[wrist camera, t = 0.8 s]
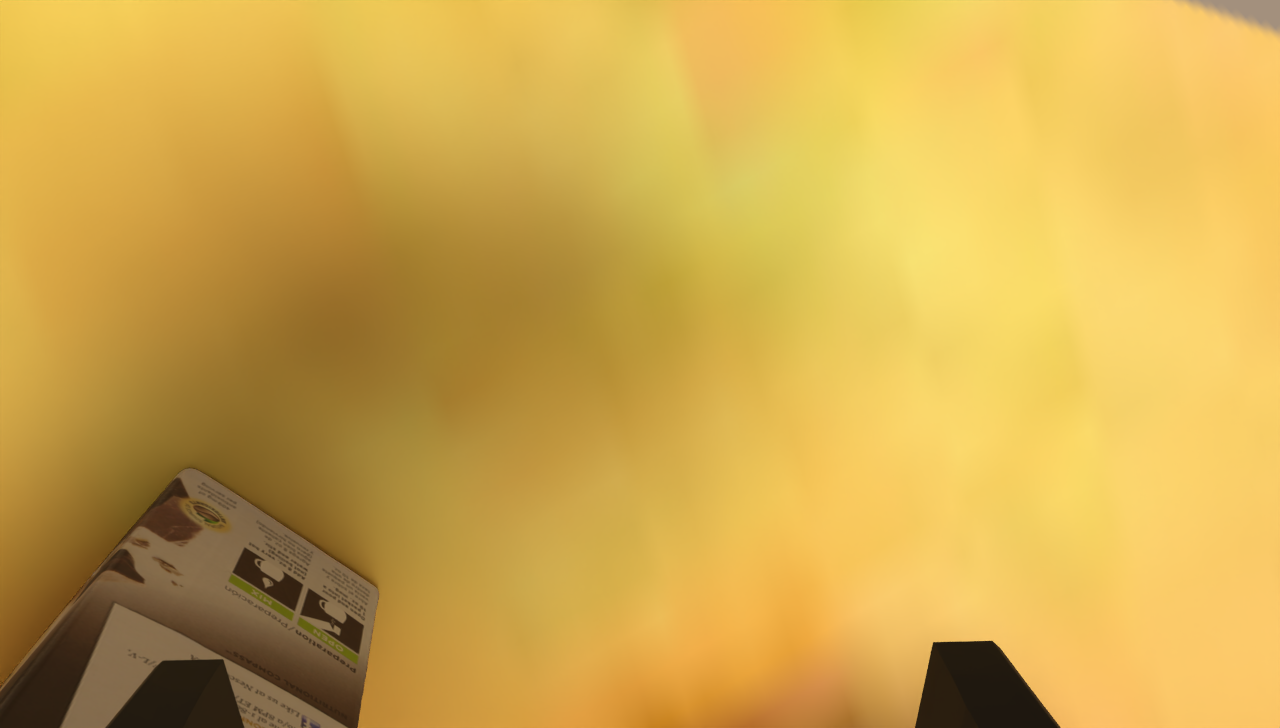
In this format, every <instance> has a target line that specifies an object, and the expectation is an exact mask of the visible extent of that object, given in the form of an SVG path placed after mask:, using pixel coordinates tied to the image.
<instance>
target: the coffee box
mask: <svg viewBox="0 0 1280 728" xmlns="http://www.w3.org/2000/svg"><path fill="white" fill-rule="evenodd" d="M378 599H379V591H378V589H377V588H376V587H375V586H373V585H372V584H370V583H369V582H368V581H366V580H365V579H363V578H362V577H360V576H359V575H357V574H356V573H354V572H353V571H351V570H350V569H348V568H347V567H345V566H344V565H342V564H341V563H339V562H338V561H336V560H335V559H333V558H331V557H330V556H328V555H327V554H325V553H324V552H323V551H321V550H320V549H318V548H317V547H315V546H314V545H313V544H311V543H309V542H308V541H306V540H305V539H303V538H302V537H300V536H299V535H297V534H296V533H294V532H293V531H291V530H290V529H288V528H286V527H285V526H283V525H282V524H280V523H279V522H277V521H276V520H274V519H273V518H271V517H270V516H268V515H267V514H265V513H264V512H262V511H261V510H259V509H258V508H256V507H255V506H253V505H252V504H250V503H249V502H247V501H246V500H244V499H243V498H241V497H240V496H238V495H237V494H235V493H234V492H232V491H231V490H229V489H227V488H226V487H224V486H223V485H221V484H220V483H218V482H217V481H215V480H213V479H212V478H210V477H209V476H207V475H205V474H204V473H202V472H200V471H198V470H197V469H192V468H188V469H184V470H182V471H181V472H180V473H178V474H177V475H176V477H175V478H174V479H173V480H172V481H171V483H170V484H169V485H168V486H167V487H166V489H165V490H164V491H163V492H162V493H161V494H160V496H159V497H158V498H157V499H156V500H155V502H154V503H153V504H152V505H151V506H150V507H149V508H148V510H147V511H146V512H145V513H144V514H143V515H142V517H141V518H140V519H139V520H138V521H137V522H136V523H135V525H134V526H133V527H132V528H131V529H130V530H129V531H128V533H127V534H126V535H125V536H124V537H123V539H122V540H121V541H120V542H119V543H118V545H117V546H116V547H115V548H114V549H113V551H112V552H111V553H110V554H109V555H108V557H107V558H106V559H105V560H104V561H103V563H102V564H101V565H100V566H99V567H98V569H97V570H96V571H95V572H94V573H93V575H92V576H91V577H90V578H89V579H88V581H87V582H86V583H85V584H84V585H83V587H82V588H81V589H80V590H79V591H78V593H77V594H76V595H75V596H74V597H73V599H72V600H71V601H70V602H69V603H68V605H67V606H66V607H65V608H64V609H63V611H62V612H61V613H60V614H59V615H58V617H57V618H56V619H55V620H54V621H53V623H52V624H51V625H50V626H49V627H48V629H47V630H46V631H45V632H44V633H43V635H42V636H41V637H40V638H39V639H38V641H37V642H36V643H35V644H34V645H33V647H32V648H31V649H30V650H29V652H28V653H27V654H26V656H25V657H24V658H23V659H22V661H21V662H20V663H19V664H18V666H17V667H16V668H15V669H14V670H13V672H12V673H11V674H10V675H9V677H8V678H7V679H6V680H5V682H4V683H3V684H2V685H1V687H0V728H105V727H106V726H107V725H108V724H109V723H110V721H111V720H112V719H113V718H114V717H115V715H116V714H117V713H118V712H119V710H120V709H121V708H122V707H123V706H124V704H125V703H126V702H127V701H128V699H129V698H130V697H131V696H132V695H133V693H134V692H135V691H136V690H137V688H138V687H139V686H140V685H141V684H142V682H143V681H144V680H145V679H146V678H147V676H148V675H149V674H150V673H151V672H152V670H153V669H154V668H155V667H156V666H157V665H158V664H159V663H161V662H162V661H165V660H208V659H223V660H224V663H225V666H226V669H227V673H228V676H229V679H230V682H231V686H232V689H233V692H234V695H235V699H236V702H237V705H238V708H239V712H240V715H241V718H242V721H243V725H244V728H357V727H358V721H359V713H360V708H361V700H362V695H363V690H364V682H365V677H366V671H367V665H368V658H369V651H370V644H371V639H372V632H373V626H374V620H375V614H376V609H377V603H378Z"/></svg>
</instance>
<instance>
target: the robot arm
mask: <svg viewBox="0 0 1280 728" xmlns="http://www.w3.org/2000/svg"><path fill="white" fill-rule="evenodd" d="M105 728H244V725H243V721H242V718H241V715H240V712H239V708H238V705H237V702H236V699H235V695H234V692H233V689H232V686H231V682H230V679H229V676H228V673H227V669H226V666H225V663H224V660H223V659H208V660H165V661H162V662H161V663H159V664H158V665H157V666H156V667H155V668H154V669H153V670H152V672H151V673H150V674H149V675H148V676H147V678H146V679H145V680H144V681H143V682H142V684H141V685H140V686H139V687H138V688H137V690H136V691H135V692H134V693H133V695H132V696H131V697H130V698H129V699H128V701H127V702H126V703H125V704H124V706H123V707H122V708H121V709H120V710H119V712H118V713H117V714H116V715H115V717H114V718H113V719H112V720H111V721H110V723H109V724H108V725H107V726H106V727H105ZM915 728H1060V726H1059V725H1058V724H1057V722H1056V721H1055V720H1054V719H1053V717H1052V716H1051V715H1050V713H1049V712H1048V711H1047V709H1046V708H1045V707H1044V706H1043V704H1042V703H1041V702H1040V700H1039V699H1038V698H1037V696H1036V695H1035V694H1034V692H1033V691H1032V690H1031V689H1030V687H1029V686H1028V685H1027V683H1026V682H1025V681H1024V679H1023V678H1022V677H1021V675H1020V674H1019V673H1018V671H1017V670H1016V669H1015V667H1014V666H1013V665H1012V663H1011V662H1010V661H1009V659H1008V658H1007V657H1006V655H1005V654H1004V653H1003V651H1002V650H1001V649H1000V648H999V647H998V646H997V645H996V644H995V643H994V642H993V641H970V642H933V646H932V650H931V655H930V660H929V665H928V669H927V674H926V679H925V684H924V688H923V693H922V698H921V702H920V707H919V712H918V717H917V721H916V726H915Z"/></svg>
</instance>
